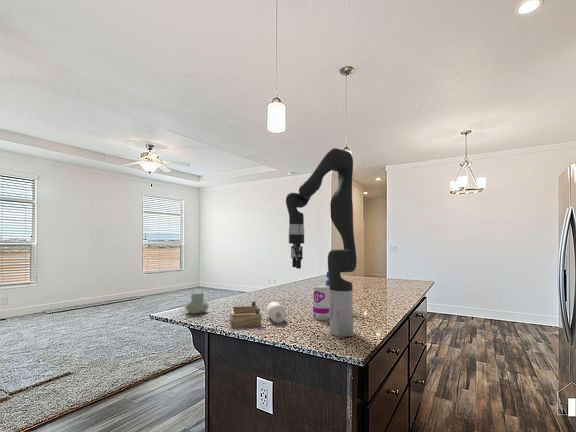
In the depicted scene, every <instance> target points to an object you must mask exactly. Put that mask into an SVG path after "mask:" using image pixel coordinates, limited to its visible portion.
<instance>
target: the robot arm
mask: <svg viewBox="0 0 576 432" xmlns="http://www.w3.org/2000/svg"><path fill="white" fill-rule="evenodd" d="M331 171H334V172H337V177H338V178H337V179H338V180H337V181H338V182H337V187H336V188H335V191H334V193H333V195H332V197H331V198H330V199H331V200H330V204H329V206H330V209H329V210H330V219H331V222H332V223H333V225H334V227H335V228H336V230H337V232H338V233H339V235H340V238H341V239H342V244H343V249H331V250H330V251H329V252H328V255H327V269H328V270H327V272H328V278H329V286H330V318H329V334H330V335H332V336H335V337H336V336H337V337H338V338H340V337H341V338H342V337H353V336H354V299H353V297H354V295H353V293H354V292H353V291H354V289H353V282H351V281H349V280H346V279H344V278H342V277H341V274H342V273H353V272H355V270H356V267H357V263H358V261H357V251H356V243H355V234H354V233H355V232H354V206H353V205H354V204H353V172H354V158H353V155H352V153H351V152H349V151H347V150H344V149H340V148H335V147H334V148H331V149H329V150H328V151H327V152H326V153H325V154H324V156H323V157H322V159H321V160H320V162H319V163H318V164H317V166H316V167H315V169H314V171H313V172H312V173H311V175H310V176H309V177H308V178H307V179H306V180H305V181H304V182H303V183H302V184H300V186H299V188H298V193H297V192H289V193H288V194H287V195H286V197H285V206H286V209H287V213H288V216H289V219H288V222H289V224H288V225H289V226H288V244H291V246H290V250H291V251H290V258H291V260H292V263H291V264H292V267H291V268H296V269H298V270H299V269H302V260H303V258H304V257H303V255H304V254H303V246H302V244H305V225H304V224H305V221H304V220H305V219H304V213H303V212H300V211H299V210H298V208H299V209H300V208H304V207H306V206H307V205H308V203H309V202H310V199H311V197H313V195H314V194H316V192H317V191H319V189H321V186H322V183H323V179H324V177H325V176H326V175H327V174H328V173H329V172H331ZM328 278H327V279H328Z"/></svg>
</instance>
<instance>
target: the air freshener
mask: <svg viewBox="0 0 576 432" xmlns="http://www.w3.org/2000/svg"><path fill="white" fill-rule="evenodd" d="M208 308H209V304H208V302H207V301H205V300H204V292H203V291H202V292H201V291H195V292H192V293H191V301H189V302H188V303H187V304H186V307H185V309H186V311H187V312H188V313H189V314H192V315H200V314H203V313H205V312H206V311H207V310H208Z"/></svg>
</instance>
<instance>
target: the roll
mask: <svg viewBox="0 0 576 432" xmlns="http://www.w3.org/2000/svg"><path fill="white" fill-rule="evenodd" d="M266 313H267V314H268V317H269V318H270V319H271V321H272V322H274V323H275V324H280V323H283V322H284V321H285V319H286V318H287V312H286V309H284V307H283V306H282V305H281V304H280V303H279V302H278V301H271V302H270V303H269V304H267V306H266Z"/></svg>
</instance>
